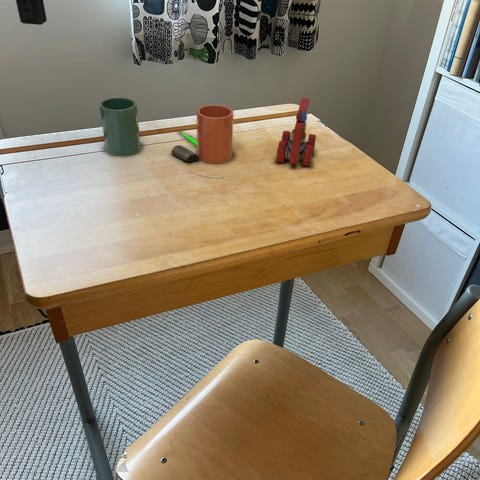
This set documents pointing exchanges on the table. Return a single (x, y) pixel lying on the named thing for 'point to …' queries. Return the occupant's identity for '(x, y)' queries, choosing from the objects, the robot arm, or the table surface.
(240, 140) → the table surface
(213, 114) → the cup
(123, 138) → the green cup
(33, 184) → the table surface
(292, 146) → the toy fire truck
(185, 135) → the green marker pen
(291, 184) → the table surface
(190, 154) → the block
